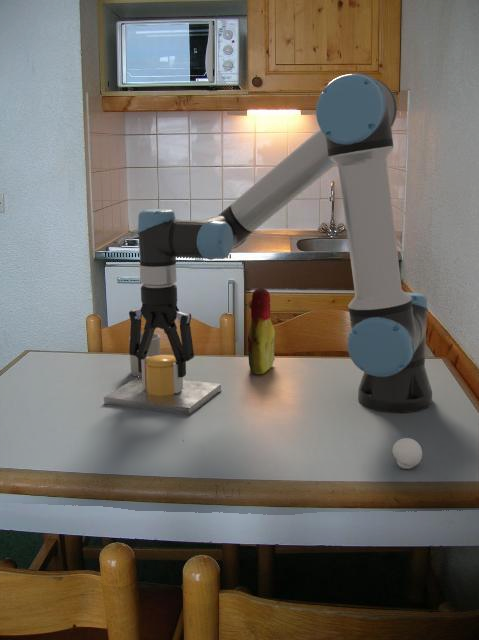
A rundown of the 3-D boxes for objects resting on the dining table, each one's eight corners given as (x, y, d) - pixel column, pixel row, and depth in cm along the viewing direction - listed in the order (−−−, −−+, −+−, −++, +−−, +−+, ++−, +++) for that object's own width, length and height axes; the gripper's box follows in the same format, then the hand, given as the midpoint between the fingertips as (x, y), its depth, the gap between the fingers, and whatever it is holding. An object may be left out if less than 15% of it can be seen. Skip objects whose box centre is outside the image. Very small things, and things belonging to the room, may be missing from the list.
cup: (164, 368, 180) (162, 333, 178) (154, 381, 171) (152, 344, 169) (135, 367, 181) (133, 332, 179) (123, 380, 172) (121, 343, 170)
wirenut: (183, 387, 161) (182, 356, 160) (169, 396, 155) (168, 364, 154) (156, 384, 164) (155, 353, 162) (142, 393, 158) (140, 361, 156)
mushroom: (393, 459, 126) (394, 432, 125) (422, 462, 125) (423, 434, 124) (390, 472, 122) (391, 443, 121) (420, 475, 120) (421, 446, 119)
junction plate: (221, 390, 163) (220, 366, 162) (189, 414, 149) (188, 388, 148) (141, 381, 171) (140, 358, 170) (104, 403, 156) (102, 378, 155)
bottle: (269, 378, 171) (268, 293, 167) (242, 377, 173) (240, 292, 168) (278, 363, 183) (277, 283, 178) (253, 362, 184) (251, 283, 179)
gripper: (209, 283, 154) (211, 388, 159) (126, 278, 161) (131, 379, 167) (194, 290, 147) (196, 400, 153) (108, 284, 154) (113, 389, 160)
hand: (162, 388), depth 160 cm, fingers open, 7 cm apart
